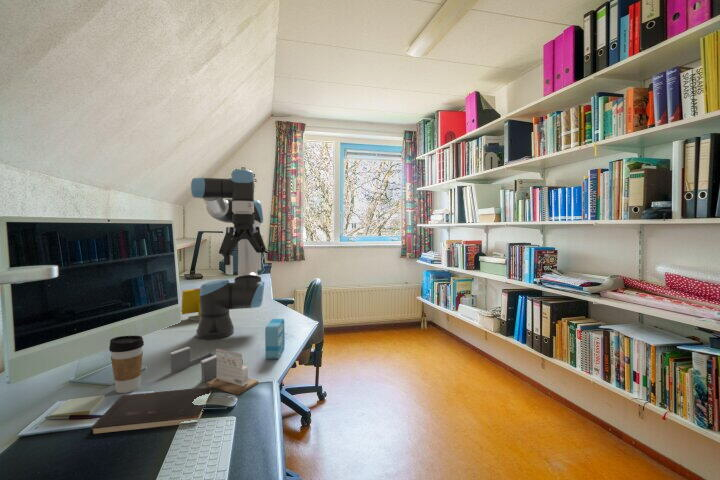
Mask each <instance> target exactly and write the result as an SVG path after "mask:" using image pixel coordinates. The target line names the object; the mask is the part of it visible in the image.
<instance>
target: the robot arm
mask: <svg viewBox="0 0 720 480" xmlns="http://www.w3.org/2000/svg"><path fill="white" fill-rule="evenodd" d="M254 175H255V174H254V172H253V171H252V170H249V169H233V170H232V172H231V178H217V177H216V178H215V177H214V178H213V177H193V178H192V179H191V182H190V183H191V184H190V192H191V196H192V198H196V199H202V200H203V202H204V203H205V205H206V212H207V213H208V215H209V216H211V217H212V218H213V219H215V220H217V221H219V222H223V223H225V224H226V223H228V224H233V226H226V228H225V235H224V237H223V240H222V242H221V245H220V247H219V251H218V254H219V255H222V256H223V262H224V263H223V264H224V266H225V275H229V276H231V275H232V276H233V275H234V256H233V255H232V253H233V251H234V250H236V249H235V248H236V247H237V246H238V248H237V249H238V250H237V251H238V252H237V253H238V254H237V256H238V257H237V258H238V259H237V263H238V264H237V275H236V276H235V277H234V280H233V282H230V280H229V279H216V280H210V281H206V282H205V283H203V284H201V285H200V287H199V288H200V313H201V318H200V321H199V322H198V326H197V328H196V337H197V338H198V339H201V340H217V339H221V338H222V339H223V338H226V337H230V336H232V335H233V334H234V333H235V331H234V330H235V329H234V328H235V327H234V324H233V322H232V319H231V316H230V310H239V309H240V310H243V309H253V308H260V307H262V305H263V302H264V301H263V300H264V291H265V283H266V282H265V281H263V280H262V277H261V276H260V275H259V274H258V271H261V270H262V260H263V259H262V258H263V255H262V254H263V253H264V252H265V251H266V250H267V248H266V246H265V245H266V244H265V242H264V239H263V236H262V234H261V231H260V229H261V228H260V227H261V224H262V223H264V215H263V208H262V207H263V206H262V203H261V201H260V200H258V199H255V177H254Z"/></svg>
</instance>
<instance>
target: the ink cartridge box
mask: <svg viewBox="0 0 720 480" xmlns="http://www.w3.org/2000/svg"><path fill="white" fill-rule="evenodd" d="M215 353H216V357H217V377H216V378H217V379H219V380H222V381H225V382H229V383H232V384H236V385H239V386H245V385H246V384H248V378H249V366H246V365H243V364H242V360H243V354H242V353H239V352H234V351H230V350H226V349H222V348H217V347H216V348H215ZM227 354H229V355H231V356H229V357H227V356H228V355H227ZM231 357H233V358H231Z"/></svg>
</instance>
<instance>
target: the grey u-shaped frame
mask: <svg viewBox="0 0 720 480" xmlns="http://www.w3.org/2000/svg"><path fill="white" fill-rule="evenodd" d="M169 354H170V373H173V374H175V373H176V372H179V371H182V370H184V369H186V368H189V367H191V366H194V365H196V364H199V363H201V367H200V368H201V369H200V371H201V372H200V373H201V382H202V383H206V382H208V381H210V380H212V379H215V378H217V357H216V352H212V351H210V352H207V353H204V354H203V355H200V356H197V357H193V358H192V359H191V347H190V346H186V347H184V348H180V349H177V350H175V351H172V352H170V353H169ZM226 356H227V357H231V358H233V356H228V355H226ZM243 364H244V361H243V359H242V365H243Z"/></svg>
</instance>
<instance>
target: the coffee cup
mask: <svg viewBox="0 0 720 480" xmlns="http://www.w3.org/2000/svg"><path fill="white" fill-rule="evenodd" d="M144 345H145V342H144V339H143V336H140V335H122V336H121V335H120V336H117V337H113V338H111V339H110V341H109V346H108V347H109V348H108V350H109V352H111V353H110V354H111V357H110V360H111V367H112V372H113V379H114V387H115V392H116V393H117V394H126V393H127V394H128V393H131V392H134V391H136V390H138V389H139V388H140V386H141V378H142V377H141V376H142V367H143V366H142V365H143V364H142V363H143V346H144Z"/></svg>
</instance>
